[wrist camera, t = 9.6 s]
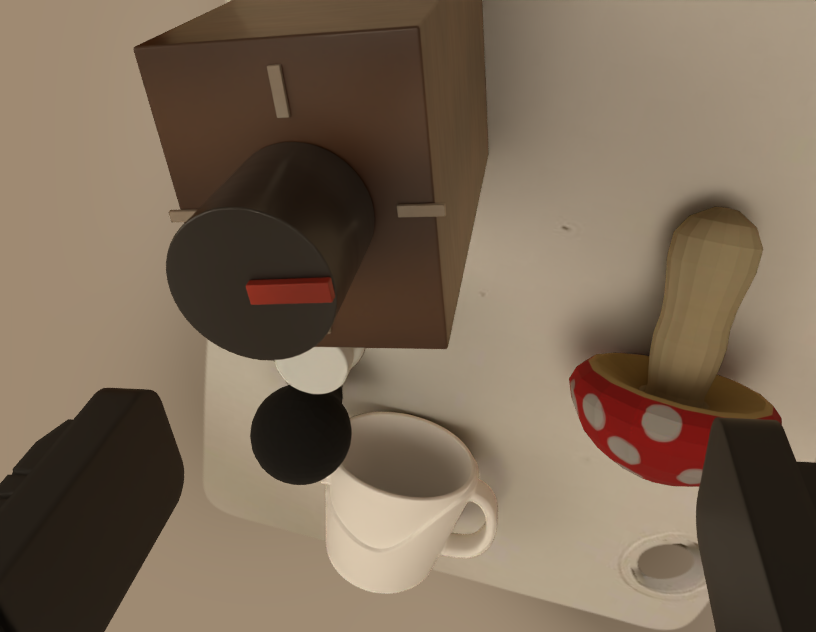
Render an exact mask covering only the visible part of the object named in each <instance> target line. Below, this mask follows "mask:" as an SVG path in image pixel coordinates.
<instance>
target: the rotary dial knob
mask: <svg viewBox="0 0 816 632" xmlns="http://www.w3.org/2000/svg"><path fill="white" fill-rule="evenodd" d="M374 223H375V217H374V209H373V204H372V200H371V198H370V195H369V193H368V190H367V189H366V187H365V185H364V183H363V181H362V180H361V179H360V177H359V176H358V174H357V173H356V172H355V171H354V170H353V169H352V168H351V167H350V166H349V165H348V164H347V163H346V162H345V161H344V160H342V159H341V158H339V157H338V156H336V155H335V154H333V153H331V152H329V151H328V150H326V149H323V148H321V147H318V146H315V145H311V144H307V143H301V142H283V143H276V144H273V145H270V146H267V147H265V148H263V149H260V150H259V151H257V152H256V153H254V154H253V155H252V156H250V157H249V158H248V159H247V160H246V161H245V162H244V163H243V164H242V165H241V166H240V167H239V168H238V169H237V170H236V171H235V172H234V173H233V174H232V175H231V176H230V177H229V178H228V180H227V181H226V182H225V183H224V184H223V185H222V186H221V187H220V188H219V189H218V190H217V191H216V192H215V193H214V194H213V195H212V196H211V197H210V198H209V199H208V200H207V201H206V202H205V203H204V204H203V205H202V206H201V207H200V208H199V209H198V210H197V211H196V212H195V213H194V214H193V215H192V216H191V217H190V218H189V219H188V220H187V221H186V222H185V223H184V224H183V225H182V227H181V228H180V229H179V230H178V231H177V233H176V234H175V236H174V238H173V239H172V241H171V243H170V247H169V250H168V254H167V261H166V273H167V280H168V284H169V288H170V291H171V294H172V296H173V298H174V301H175V303H176V304H177V306H178V308H179V310H180V311H181V312H182V314H183V315H184V317H185V318H186V319H187V320H188V321H189V322H190V324H191V325H192V326H193V327H194V328H195V329H196V330H197V331H198V332H199V333H201V334H202V335H203V336H204V337H206V338H207V339H208V340H210V341H211V342H213V343H214V344H216V345H218V346H219V347H221V348H223V349H225V350H227V351H229V352H232V353H235V354H237V355H240V356H244V357H247V358H252V359H258V360H283V359H288V358H292V357H295V356H298V355H301V354H303V353H305V352H307V351H309V350H310V349H312V348H313V347H315V346H316V345H317V344H318V343H320V342H321V341H322V340H323V339H324V337H325V336H326V335H327V333H328V332H329V330H330V328H331V327H332V325H333V323H334V320H335V318H336V316H337V314H338V312H339V310H340V307H341V305H342V303H343V301H344V299H345V297H346V295H347V292H348V290H349V288H350V286H351V284H352V282H353V279H354V277H355V275H356V273H357V271H358V269H359V266H360V264H361V262H362V260H363V258H364V256H365V253H366V251H367V249H368V247H369V245H370V242H371V239H372V237H373V232H374Z"/></svg>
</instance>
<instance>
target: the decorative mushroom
mask: <svg viewBox="0 0 816 632" xmlns="http://www.w3.org/2000/svg"><path fill="white" fill-rule="evenodd" d="M762 251H763V247H762V244H761V240H760V236H759V233H758V229H757V227H756V226H754V225H753V224H752V223H751V222H750V221H749V220H748V219H747V218H746V217H745V216H744V215H743V214H742V213H741V212H740V211H737V210H733V209H730V208H724V207H713V208H710V209H707V210H704V211H701V212H698V213H695V214H692V215H690V216H689V217H688V218H687V219H686V220H685V221H684V222H683V223H682V224H681V225H680V226H679V227H678V228H677V229H676V230H675V231H674V233H673V237H672V241H671V244H670V248H669V251H668V255H667V268H666V281H665V294H664V299H663V305H662V310H661V314H660V317H659V319H658V322H657V325H656V327H655V330H654V333H653V338H652V343H651V348H650V355H649V356H646V355H637V354H626V353H605V354H596V355H594V356H593V357H591V358H589V359H587V360H585V361H584V362H583V363H581V364H580V365H578V366H577V367H576V368H575V370H574V372H573V373H572V375H571V377H570V378H569V381H570V390H571V397H572V400H573V403H574V406H575V409H576V411H577V414H578V416H579V419H580V421H581V424H582V426H583V429H584V431H585V432H586V433H587V435H588V436H589V437H590V438H591V440H592V441H593V442H594V444H595V445H596V446H597V447H598V448H599V449H600V450H601V451H602V452H603V453H604V454H606V455H607V456H608V457H609V458H610V459H612V460H613V461H614V462H616V463H617V464H618V465H620V466H621V467H622V468H624V469H626V470H628V471H630V472H631V473H633V474H635V475H637V476H639V477H641V478H643V479H646V480H649V481H651V482H655V483H660V484H665V485H670V486H687V487H693V486H700V481H701V476H702V471H703V466H704V461H705V455H706V450H707V445H708V440H709V435H710V430H711V426H712V423H713V421H714V419H715V418H717V417H721V418H743V419H764V420H777V421H779V422H780V424H781V425H782V419H781V417H780V415H779V414H778V412H777V411H776V409H775V408H774V406H773V405H772V404H771V403H769V402H768V401H767V400H766V399H765V398H764V397H763V396H762V395H760V394H759V393H757V392H755V391H753V390H751V389H749V388H747V387H745V386H743V385H741V384H740V383H738V382H736V381H733V380H730V379H728V378H725V377H722V376H720V375H717V373H718V371H719V369H720V366H721V363H722V361H723V358H724V355H725V352H726V350H727V345H728V339H729V334H730V329H731V326H732V323H733V321H734V318H735V315H736V313H737V310H738V308H739V306H740V304H741V302H742V300H743V298H744V296H745V294H746V292H747V290H748V289H749V287H750V285H751V283H752V281H753V279H754V277H755V275H756V273H757V269H758V266H759V262H760V258H761V255H762Z"/></svg>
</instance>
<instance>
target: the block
mask: <svg viewBox="0 0 816 632" xmlns="http://www.w3.org/2000/svg"><path fill="white" fill-rule="evenodd" d="M134 53H135V56H136V59H137V63H138V66H139V70H140V73H141V77H142V80H143V84H144V87H145V90H146V93H147V97H148V101H149V104H150V107H151V111H152V114H153V118H154V121H155V124H156V128H157V131H158V134H159V137H160V141H161V145H162V148H163V152H164V155H165V158H166V162H167V165H168V168H169V172H170V175H171V179H172V182H173V185H174V189H175V192H176V196H177V199H178V202H179V206H180V209H181V210H170V211H169V215H170V218H171V222H184V223H185V222H186V221H187V220H188V219H189V218H190V217H191V216H192V215H193V214H194V213H195V212H196V211H197V210H198V209H199V208H200V207H201V206H202V205H203V204H204V203H205V202H206V201H207V200H208V199H209V198H210V197H211V196H212V195H213V194H214V193H215V192H216V191H217V190H218V189H219V188H220V187H221V186H222V185H223V184H224V183H225V182H226V181H227V180H228V178H229V177H230V176H231V175H232V174H233V173H234V172H235V171H236V170H237V169H238V168H239V167H240V166H241V165H242V164H243V163H244V162H245V161H246V160H247V159H248V158H249V157H250V156H252V155H253V154H254V153H256V152H257V151H259V150H260V149H263V148H265V147H267V146H270V145H273V144H276V143H283V142H301V143H307V144H311V145H315V146H318V147H321V148H323V149H326V150H328V151H329V152H331V153H333V154H335V155H336V156H338V157H339V158H341V159H342V160H344V161H345V162H346V163H347V164H348V165H349V166H350V167H351V168H352V169H353V170H354V171H355V172H356V173H357V174H358V176H359V177H360V179H361V180H362V181H363V183H364V185H365V187H366V189H367V190H368V193H369V195H370V198H371V200H372V204H373V209H374V217H375V223H374V232H373V237H372V239H371V242H370V245H369V247H368V249H367V251H366V253H365V256H364V258H363V260H362V262H361V264H360V266H359V269H358V271H357V273H356V275H355V277H354V279H353V282H352V284H351V286H350V288H349V290H348V292H347V295H346V297H345V299H344V301H343V303H342V305H341V307H340V310H339V312H338V314H337V316H336V318H335V320H334V323H333V325H332V327H331V328H330V330H329V332H328V333H327V335H326V336H325V337H324V339H323V340H322V341H321V342H320V343H318V344H317V345H316V346H315V347H348V348H414V349H447V348H448V344H449V339H450V334H451V330H452V325H453V320H454V315H455V311H456V306H457V301H458V297H459V292H460V287H461V282H462V278H463V273H464V268H465V263H466V259H467V254H468V249H469V245H470V240H471V235H472V230H473V226H474V221H475V216H476V211H477V207H478V202H479V197H480V192H481V188H482V183H483V178H484V174H485V169H486V164H487V159H488V155H489V148H488V124H487V101H486V77H485V54H484V30H483V7H482V0H232V1H230V2H228V3H226V4H224V5H222V6H220V7H218V8H215V9H213V10H211V11H209V12H207V13H205V14H203V15H201V16H199V17H196V18H194V19H192V20H190V21H188V22H186V23H184V24H182V25H180V26H178V27H175V28H174V29H171V30H169V31H167V32H165V33H163V34H161V35H159V36H156V37H155V38H152V39H150V40H148V41H146V42H144V43H142V44H140V45H137V46H135V47H134Z"/></svg>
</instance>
